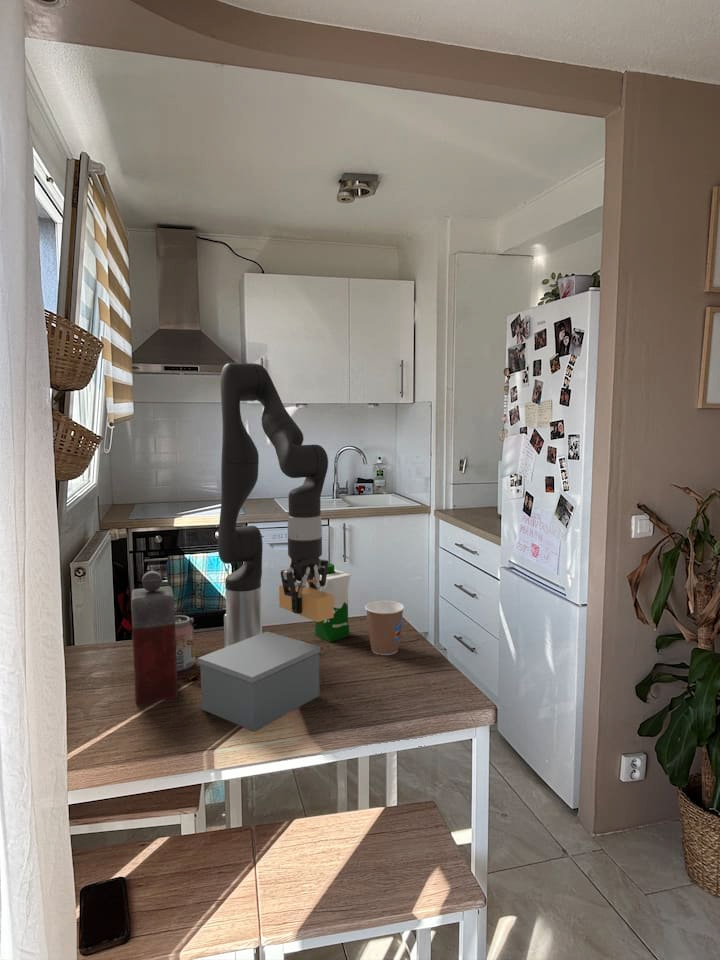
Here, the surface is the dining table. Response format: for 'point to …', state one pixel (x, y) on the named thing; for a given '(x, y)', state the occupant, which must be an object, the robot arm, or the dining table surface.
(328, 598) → the light orange bar
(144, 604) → the decanter
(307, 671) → the box
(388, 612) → the coffee cup
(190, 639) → the beverage can
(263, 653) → the lid
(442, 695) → the dining table surface
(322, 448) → the robot arm
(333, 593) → the milk carton
